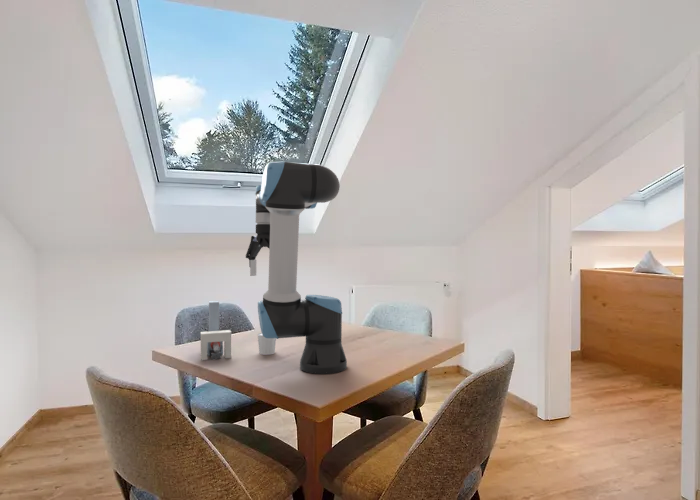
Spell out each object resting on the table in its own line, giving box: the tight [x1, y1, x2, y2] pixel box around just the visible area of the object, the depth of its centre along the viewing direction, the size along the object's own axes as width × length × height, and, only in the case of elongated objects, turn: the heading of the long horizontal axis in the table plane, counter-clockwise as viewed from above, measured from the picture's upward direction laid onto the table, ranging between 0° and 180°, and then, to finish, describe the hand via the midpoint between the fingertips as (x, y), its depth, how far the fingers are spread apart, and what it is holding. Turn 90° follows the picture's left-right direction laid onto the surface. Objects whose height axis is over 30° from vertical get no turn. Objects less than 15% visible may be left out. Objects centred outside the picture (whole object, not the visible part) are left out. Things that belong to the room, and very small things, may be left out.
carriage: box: [207, 300, 224, 357], centre depth 160 cm, size 11×5×18 cm, turn 20°
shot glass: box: [257, 332, 277, 356], centre depth 159 cm, size 7×7×7 cm
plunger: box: [211, 342, 220, 353], centre depth 151 cm, size 9×3×3 cm, turn 20°
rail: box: [210, 350, 222, 360], centre depth 162 cm, size 24×3×2 cm, turn 20°
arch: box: [200, 329, 232, 361], centre depth 152 cm, size 4×10×9 cm, turn 110°
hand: (265, 276), depth 176 cm, fingers open, 13 cm apart
